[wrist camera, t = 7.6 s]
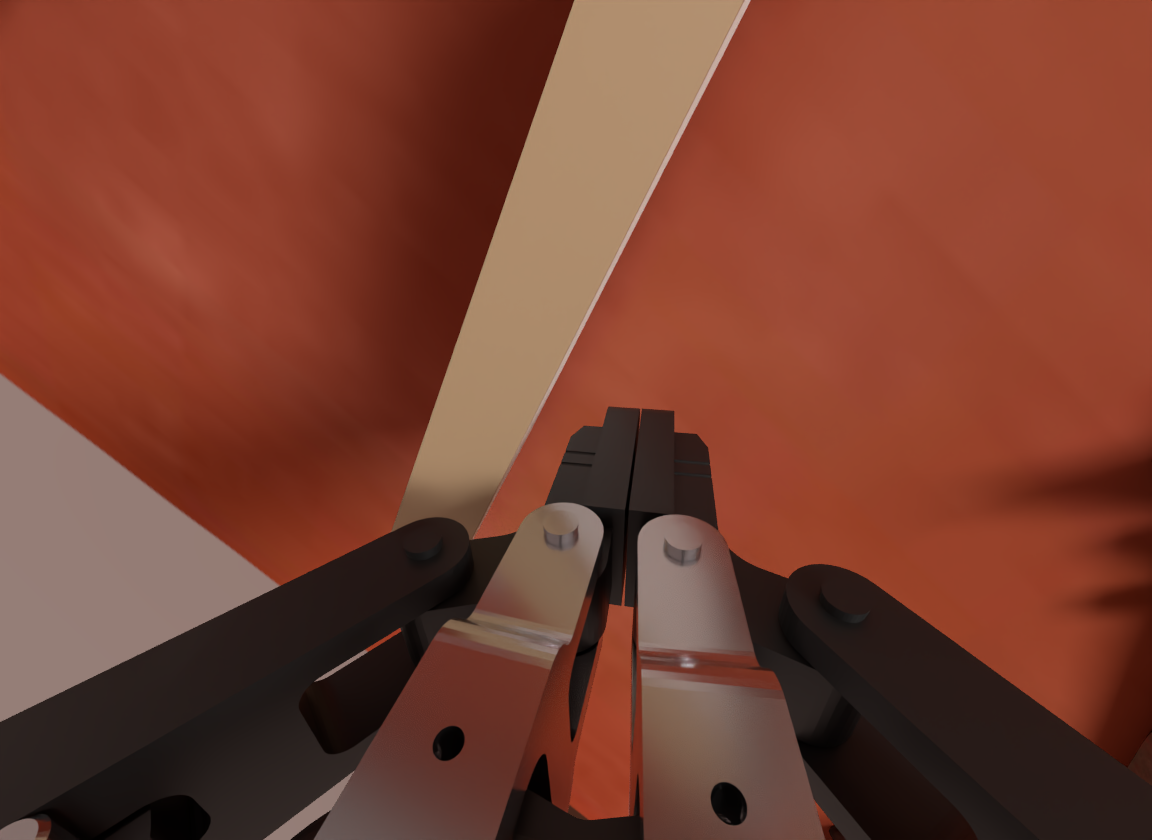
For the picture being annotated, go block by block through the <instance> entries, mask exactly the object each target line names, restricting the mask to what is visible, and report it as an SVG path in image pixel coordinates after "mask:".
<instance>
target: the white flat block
mask: <svg viewBox="0 0 1152 840" xmlns="http://www.w3.org/2000/svg"><path fill="white" fill-rule="evenodd" d="M750 1H751V0H574V3H573V6H572V9H571V12H570V15H569V17H568V20H567V23H566V26H565V29H564V32H563V35H562V38H561V41H560V44H559V46H558V49H557V52H556V55H555V58H554V61H553V64H552V67H551V70H550V73H549V75H548V78H547V81H546V84H545V87H544V90H543V93H542V96H541V99H540V102H539V105H538V107H537V110H536V113H535V116H534V119H533V122H532V125H531V128H530V131H529V134H528V136H527V139H526V142H525V145H524V148H523V151H522V154H521V157H520V160H519V163H518V165H517V168H516V171H515V174H514V177H513V180H512V183H511V186H510V189H509V192H508V195H507V197H506V200H505V203H504V206H503V209H502V212H501V215H500V218H499V221H498V224H497V226H496V229H495V232H494V235H493V238H492V241H491V244H490V247H489V250H488V253H487V256H486V258H485V261H484V264H483V267H482V270H481V273H480V276H479V279H478V282H477V285H476V287H475V290H474V293H473V296H472V299H471V302H470V305H469V308H468V311H467V314H466V316H465V319H464V322H463V325H462V328H461V331H460V334H459V337H458V340H457V343H456V346H455V348H454V351H453V354H452V357H451V360H450V363H449V366H448V369H447V372H446V375H445V377H444V380H443V383H442V386H441V389H440V392H439V395H438V398H437V401H436V404H435V406H434V409H433V412H432V415H431V418H430V421H429V424H428V427H427V430H426V433H425V436H424V438H423V441H422V444H421V447H420V450H419V453H418V456H417V459H416V462H415V465H414V467H413V470H412V473H411V476H410V479H409V482H408V485H407V488H406V491H405V494H404V497H403V499H402V502H401V505H400V508H399V511H398V514H397V517H396V520H395V523H394V526H393V528H392V531H391V532H393V531H395V530H397V529H399V528H401V527H403V526H405V525H407V524H409V523H412V522H414V521H417V520H421V519H425V518H432V517H444V518H449V519H453V520H455V521H457V522H459V523H461V524H462V525H463V526H464V527H465V528H466V530H467V532H468V534H469V539H470V540H473V539H474V537H475V535H476V533H477V531H478V529H479V528H480V526H481V524H482V522H483V520H484V518H485V516H486V514H487V512H488V511H489V509H490V507H491V505H492V503H493V501H494V499H495V497H496V495H497V494H498V492H499V490H500V488H501V486H502V484H503V482H504V480H505V478H506V477H507V475H508V473H509V471H510V469H511V467H512V465H513V463H514V461H515V460H516V458H517V456H518V454H519V452H520V450H521V448H522V446H523V444H524V443H525V441H526V439H527V437H528V435H529V433H530V431H531V429H532V427H533V425H534V423H535V421H536V419H537V417H538V415H539V414H540V412H541V410H542V408H543V406H544V404H545V402H546V400H547V398H548V396H549V394H550V392H551V390H552V388H553V386H554V384H555V382H556V380H557V378H558V376H559V374H560V372H561V371H562V369H563V367H564V365H565V363H566V361H567V359H568V357H569V355H570V353H571V351H572V349H573V347H574V345H575V343H576V341H577V339H578V337H579V335H580V333H581V331H582V329H583V327H584V326H585V324H586V322H587V320H588V318H589V316H590V314H591V312H592V310H593V308H594V306H595V304H596V302H597V300H598V298H599V296H600V294H601V292H602V290H603V288H604V286H605V284H606V282H607V281H608V279H609V277H610V275H611V273H612V271H613V269H614V267H615V265H616V263H617V261H618V259H619V257H620V255H621V253H622V251H623V249H624V247H625V245H626V243H627V241H628V239H629V237H630V236H631V234H632V232H633V230H634V228H635V226H636V224H637V222H638V220H639V218H640V216H641V214H642V212H643V210H644V208H645V206H646V204H647V202H648V200H649V198H650V196H651V194H652V192H653V191H654V189H655V187H656V185H657V183H658V181H659V179H660V177H661V175H662V173H663V171H664V169H665V167H666V165H667V163H668V161H669V159H670V157H671V155H672V153H673V151H674V149H675V148H676V146H677V144H678V142H679V140H680V138H681V136H682V134H683V132H684V130H685V128H686V126H687V124H688V122H689V120H690V118H691V116H692V114H693V112H694V110H695V108H696V106H697V104H698V103H699V101H700V99H701V97H702V95H703V93H704V91H705V89H706V87H707V85H708V83H709V81H710V79H711V77H712V75H713V73H714V71H715V69H716V67H717V65H718V63H719V61H720V59H721V58H722V56H723V54H724V52H725V50H726V48H727V46H728V44H729V42H730V40H731V38H732V36H733V34H734V32H735V30H736V28H737V26H738V24H739V22H740V20H741V18H742V16H743V14H744V13H745V11H746V9H747V7H748V5H749V3H750Z"/></svg>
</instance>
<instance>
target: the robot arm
mask: <svg viewBox="0 0 1152 840" xmlns="http://www.w3.org/2000/svg"><path fill="white" fill-rule="evenodd" d="M639 422H640V429H639ZM625 570H626V583H625V606H629V607H634V610H633V627H632V644H631V737H630V791H629V816H627V817H618V818H608V819H598V820H582V819H578V818H576V817H574V816H572V815H570V814H568V808H569V802H570V796H571V790H572V783H573V774H574V766H575V759H576V754H577V749H578V744H579V740H580V736H581V732H582V727H583V723H584V719H585V715H586V710H587V706H588V702H589V698H590V694H591V689H592V685H593V681H594V677H595V672H596V668H597V664H598V660H599V655H600V651H601V647H602V641H603V633H604V630H605V627H606V622H607V615H608V609H609V604H613V605H620V606H621V603H622V595H623V587H624V579H625ZM399 628H401V632H400V633H398V634H397V635H395V636H393V637H392V638H390V639H388V640H387V641H385V642H384V643H382V644H380V645H379V646H377V647H376V648H374V649H372V650H371V651H369V652H368V653H366V654H364V655H363V656H361V657H360V658H358V659H356V660H355V661H353V662H351V663H350V664H348V665H347V666H345V667H343V668H342V669H340V670H339V671H337V672H335V673H334V674H332V675H331V676H329V677H327V678H325V679H323V680H320V681H316V682H314V681H315V680H317V679H318V678H319V677H321V676H323V675H324V674H326V673H327V672H329V671H331V670H332V669H334V668H335V667H337V666H339V665H340V664H342V663H344V662H345V661H347V660H349V659H350V658H352V657H353V656H355V655H357V654H358V653H360V652H362V651H363V650H365V649H366V648H368V647H370V646H371V645H373V644H375V643H376V642H378V641H379V640H381V639H383V638H384V637H386V636H388V635H389V634H391V633H392V632H394V631H396V630H397V629H399ZM354 770H355V771H354ZM353 771H354V773H353V774H352V776H351V778H350V780H349V781H348V783H347V785H346V786H345V788H344V790H343V791H342V793H341V795H340V796H339V798H338V800H337V801H336V803H335V805H334V806H333V808H332V810H331V811H329V812H327V813H326V814H324V815H323V816H321V817H320V818H318V819H317V820H315V821H314V822H313V823H311V824H310V825H309V826H307V827H306V828H305V829H303V830H302V831H301V832H299V833H298V834H297V835H296V836H294V837H293V838H292V839H291V840H825V837H824V834H823V830H822V827H821V823H820V820H819V816H818V813H817V809H816V805H815V802H814V800H815V801H816V803H817V804H818V805H819V806H820V808H821V809H822V810H823V811H824V813H825V814H826V815H827V816H828V818H829V819H830V820H831V821H832V823H833V824H834V825H835V826H836V828H837V829H838V830H839V831H840V833H841V834H842V835H843V836H844V838H845V839H846V840H1152V785H1150V784H1149V783H1147V782H1146V781H1145V780H1143V779H1142V778H1141V777H1139V776H1138V775H1136V774H1135V773H1134V772H1132V771H1131V770H1130V769H1128V768H1127V767H1125V766H1124V765H1123V764H1121V763H1120V762H1119V761H1117V760H1116V759H1114V758H1113V757H1112V756H1110V755H1109V754H1108V753H1106V752H1105V751H1103V750H1102V749H1101V748H1099V747H1098V746H1097V745H1095V744H1094V743H1092V742H1091V741H1090V740H1088V739H1087V738H1086V737H1084V736H1083V735H1081V734H1080V733H1079V732H1077V731H1076V730H1075V729H1073V728H1072V727H1071V726H1069V725H1068V724H1066V723H1065V722H1064V721H1062V720H1061V719H1060V718H1058V717H1057V716H1055V715H1054V714H1053V713H1051V712H1050V711H1049V710H1047V709H1046V708H1044V707H1043V706H1042V705H1040V704H1039V703H1038V702H1036V701H1035V700H1033V699H1032V698H1031V697H1029V696H1028V695H1027V694H1025V693H1024V692H1022V691H1021V690H1020V689H1018V688H1017V687H1016V686H1014V685H1013V684H1011V683H1010V682H1009V681H1007V680H1006V679H1005V678H1003V677H1002V676H1000V675H999V674H998V673H996V672H995V671H994V670H992V669H991V668H989V667H988V666H987V665H985V664H984V663H983V662H981V661H980V660H978V659H977V658H976V657H974V656H973V655H972V654H970V653H969V652H967V651H966V650H965V649H963V648H962V647H961V646H959V645H958V644H956V643H955V642H954V641H952V640H951V639H950V638H948V637H947V636H946V635H944V634H943V633H941V632H940V631H939V630H937V629H936V628H935V627H933V626H932V625H930V624H929V623H928V622H926V621H925V620H924V619H922V618H921V617H919V616H918V615H917V614H915V613H914V612H913V611H911V610H910V609H908V608H907V607H906V606H904V605H903V604H902V603H900V602H899V601H897V600H896V599H895V598H893V597H892V596H891V595H889V594H888V593H886V592H885V591H884V590H882V589H881V588H880V587H878V586H877V585H875V584H874V583H872V582H871V581H869V580H868V579H866V578H864V577H863V576H861V575H859V574H857V573H854V572H852V571H850V570H847V569H844V568H841V567H837V566H832V565H824V564H814V565H808V566H804V567H801V568H799V569H797V570H796V571H794V572H793V573H792V574H791V575H790V577H789V579H788V578H785V577H782V576H780V575H777V574H774V573H772V572H769V571H766V570H763V569H761V568H758V567H756V566H754V565H752V564H750V563H748V562H746V561H744V560H743V559H741V558H740V557H738V556H737V555H736V554H735V553H733V552H732V551H731V550H730V549H729V548H728V545H727V542H726V541H725V539H724V537H723V536H722V535H721V534H720V532H719V531H718V526H717V518H716V509H715V501H714V493H713V485H712V478H711V468H710V460H709V452H708V447H707V446H706V445H705V443H704V442H703V441H702V440H701V439H700V437H699V436H698V435H697V434H689V433H675V432H674V411H668V410H653V409H642V414H641V421H640V409H636V408H622V407H608V409H607V413H606V417H605V420H604V424H603V427H595V426H583V427H582V428H581V429H580V430H579V431H577V432H576V433H575V434H574V435H572V436H571V438H570V441H569V443H568V446H567V448H566V453H565V454H564V456H563V459H562V462H561V465H560V467H559V469H558V472H557V475H556V477H555V480H554V482H553V485H552V488H551V490H550V493H549V495H548V498H547V501H546V503H545V506H542V507H540V508H538V509H536V510H534V511H533V512H531V513H530V514H529V515H528V516H527V517H526V518H525V519H524V520H523V522H522V523H521V525H520V527H519V529H518V531H517V532H514V533H511V534H508V535H503V536H497V537H489V538H482V539H474V540H470V539H469V534H468V532H467V530H466V528H465V527H464V526H463V525H462V524H461V523H459V522H457V521H455V520H453V519H449V518H444V517H432V518H425V519H421V520H417V521H414V522H412V523H409V524H407V525H405V526H403V527H401V528H399V529H397V530H395V531H393V532H391V533H388V534H386V535H384V536H382V537H380V538H378V539H376V540H374V541H372V542H370V543H368V544H366V545H364V546H362V547H360V548H358V549H356V550H353V551H351V552H349V553H347V554H345V555H343V556H341V557H339V558H337V559H335V560H333V561H331V562H329V563H327V564H325V565H323V566H321V567H318V568H316V569H314V570H312V571H310V572H308V573H306V574H304V575H302V576H300V577H298V578H296V579H294V580H292V581H290V582H288V583H286V584H283V585H281V586H279V587H277V588H275V589H273V590H271V591H269V592H267V593H265V594H263V595H261V596H259V597H257V598H255V599H253V600H251V601H249V602H247V603H245V604H242V605H240V606H238V607H236V608H234V609H232V610H230V611H228V612H226V613H224V614H222V615H220V616H218V617H216V618H214V619H211V620H209V621H207V622H205V623H203V624H201V625H199V626H197V627H195V628H193V629H191V630H189V631H187V632H185V633H183V634H181V635H179V636H176V637H174V638H172V639H170V640H168V641H166V642H164V643H162V644H160V645H158V646H156V647H154V648H152V649H150V650H148V651H146V652H144V653H142V654H140V655H137V656H135V657H133V658H132V659H129V660H127V661H125V662H123V663H121V664H119V665H117V666H115V667H113V668H111V669H109V670H107V671H104V672H102V673H100V674H98V675H96V676H94V677H92V678H90V679H88V680H86V681H84V682H82V683H80V684H78V685H76V686H74V687H71V688H70V689H67V690H65V691H64V692H61V693H59V694H57V695H55V696H53V697H51V698H49V699H47V700H45V701H43V702H41V703H39V704H37V705H34V706H32V707H31V708H28V709H26V710H24V711H23V712H20V713H18V714H16V715H14V716H12V717H10V718H8V719H6V720H4V721H2V722H0V840H263V839H264V838H266V837H267V836H268V835H270V834H271V833H272V832H274V831H275V830H276V829H278V828H279V827H280V826H282V825H283V824H284V823H286V822H287V821H288V820H290V819H291V818H292V817H294V816H295V815H296V814H298V813H299V812H300V811H302V810H303V809H304V808H305V807H307V806H308V805H309V804H311V803H312V802H313V801H315V800H316V799H317V798H319V797H320V796H321V795H323V794H324V793H325V792H327V791H328V790H329V789H331V788H332V787H333V786H335V785H336V784H337V783H339V782H340V781H341V780H343V779H344V778H345V777H347V776H348V775H349V774H350V773H352V772H353Z"/></svg>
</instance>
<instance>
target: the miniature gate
mask: <svg viewBox="0 0 1152 840" xmlns="http://www.w3.org/2000/svg"><path fill="white" fill-rule="evenodd" d="M1128 769H1130V770H1131V771H1132V772H1134V773H1135V774H1136V775H1138V776H1139V777H1141V778H1142V779H1143V780H1145V781H1146V782H1147V783H1149V784H1150V785H1152V732H1151V733H1150V735H1149V736H1148V737H1147V738H1146V739H1145V740H1144V742H1143V743H1142V745H1141V746H1140V748H1139V750H1138V751H1137V753H1136V755H1135V756H1134V758H1133V759H1132V761H1131V763H1130V764H1129V766H1128Z"/></svg>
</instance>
